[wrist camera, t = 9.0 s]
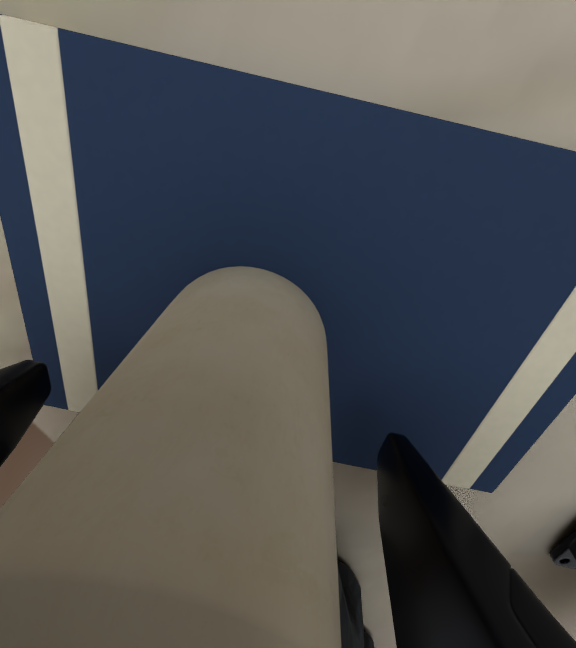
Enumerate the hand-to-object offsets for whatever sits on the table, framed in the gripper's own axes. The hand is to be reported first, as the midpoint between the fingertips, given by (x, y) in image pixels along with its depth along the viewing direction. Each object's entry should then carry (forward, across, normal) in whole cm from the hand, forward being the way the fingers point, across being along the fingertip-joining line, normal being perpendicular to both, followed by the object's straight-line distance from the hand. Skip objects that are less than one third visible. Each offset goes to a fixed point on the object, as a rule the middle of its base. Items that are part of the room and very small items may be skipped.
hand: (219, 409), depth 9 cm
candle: (+4, 0, 0) cm, 4 cm away
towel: (+4, -2, -1) cm, 5 cm away
